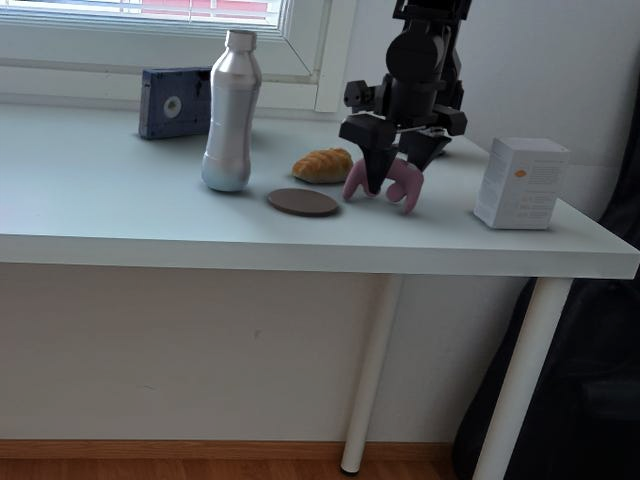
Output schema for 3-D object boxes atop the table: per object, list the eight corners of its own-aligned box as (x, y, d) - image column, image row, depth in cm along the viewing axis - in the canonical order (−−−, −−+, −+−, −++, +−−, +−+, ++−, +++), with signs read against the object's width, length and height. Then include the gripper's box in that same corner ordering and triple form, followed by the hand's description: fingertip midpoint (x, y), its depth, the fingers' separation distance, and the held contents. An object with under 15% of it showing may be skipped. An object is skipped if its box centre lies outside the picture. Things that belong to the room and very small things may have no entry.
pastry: (313, 189, 117) (318, 162, 115) (278, 175, 122) (282, 148, 120) (357, 179, 123) (362, 153, 121) (322, 166, 127) (326, 140, 125)
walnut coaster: (302, 188, 117) (303, 184, 117) (350, 210, 111) (351, 206, 111) (253, 197, 112) (254, 193, 112) (301, 221, 106) (302, 216, 106)
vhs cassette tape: (229, 125, 142) (237, 63, 137) (240, 130, 140) (248, 68, 135) (135, 134, 133) (140, 68, 128) (145, 139, 131) (150, 73, 126)
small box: (526, 214, 115) (550, 138, 110) (547, 230, 111) (574, 151, 105) (471, 213, 114) (493, 135, 109) (490, 229, 109) (515, 148, 104)
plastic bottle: (234, 200, 111) (256, 39, 100) (189, 188, 113) (206, 30, 103) (256, 188, 115) (278, 33, 105) (212, 176, 118) (230, 25, 108)
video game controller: (415, 217, 114) (431, 165, 113) (411, 214, 110) (427, 160, 109) (345, 201, 118) (359, 151, 116) (337, 197, 114) (352, 145, 112)
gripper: (414, 51, 116) (389, 163, 124) (318, 59, 106) (298, 180, 114) (483, 70, 108) (452, 187, 116) (387, 79, 98) (360, 207, 106)
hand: (390, 189), depth 113 cm, fingers closed on video game controller, 7 cm apart
